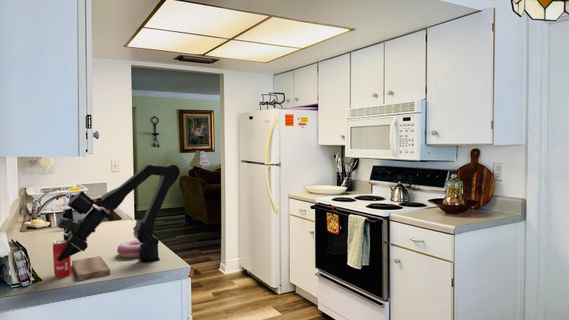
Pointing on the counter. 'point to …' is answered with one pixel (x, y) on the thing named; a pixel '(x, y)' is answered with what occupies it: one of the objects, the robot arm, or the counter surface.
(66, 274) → the beverage can
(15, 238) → the counter surface
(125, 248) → the donut
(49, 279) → the counter surface
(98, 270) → the walnut board
